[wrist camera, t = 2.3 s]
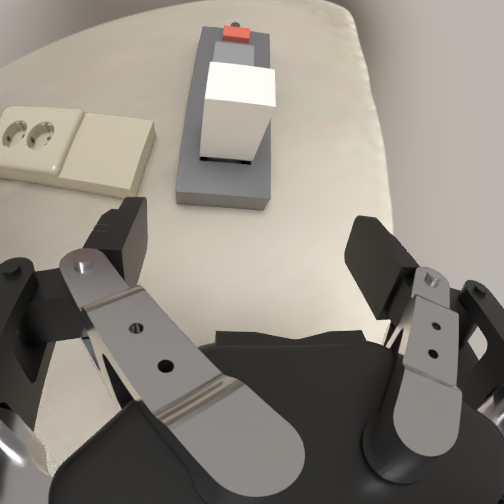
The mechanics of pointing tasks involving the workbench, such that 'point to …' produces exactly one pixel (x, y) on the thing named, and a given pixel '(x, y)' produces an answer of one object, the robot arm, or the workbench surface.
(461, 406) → the robot arm
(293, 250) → the workbench surface
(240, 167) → the power strip
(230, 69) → the block
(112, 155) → the electrical outlet
